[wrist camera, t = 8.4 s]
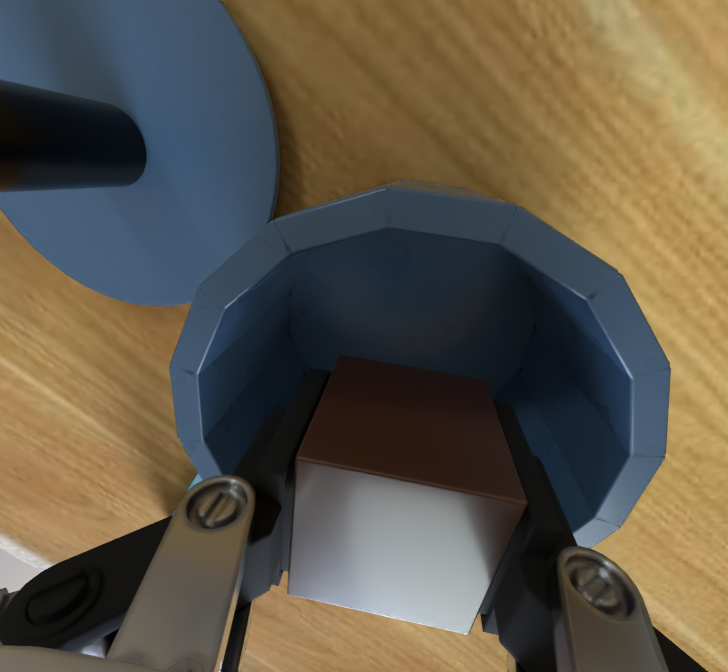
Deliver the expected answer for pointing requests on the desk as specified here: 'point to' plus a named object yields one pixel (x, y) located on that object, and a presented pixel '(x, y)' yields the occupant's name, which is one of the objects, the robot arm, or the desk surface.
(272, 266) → the tin
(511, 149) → the desk surface
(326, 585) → the block
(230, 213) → the tin lid
